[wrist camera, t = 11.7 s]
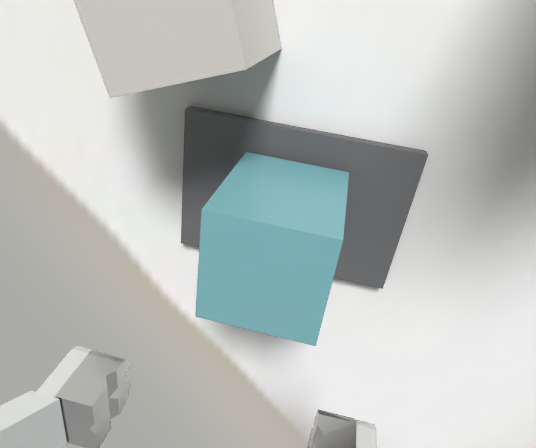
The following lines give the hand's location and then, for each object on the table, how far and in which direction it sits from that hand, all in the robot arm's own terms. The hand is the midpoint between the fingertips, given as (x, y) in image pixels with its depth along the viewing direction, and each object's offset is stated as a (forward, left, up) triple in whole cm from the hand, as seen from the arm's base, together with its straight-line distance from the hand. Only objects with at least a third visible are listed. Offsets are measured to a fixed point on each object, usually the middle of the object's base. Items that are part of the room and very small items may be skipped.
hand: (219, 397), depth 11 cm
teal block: (0, 0, -12) cm, 12 cm away
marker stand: (0, 0, -13) cm, 13 cm away
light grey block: (+5, -9, -13) cm, 17 cm away
